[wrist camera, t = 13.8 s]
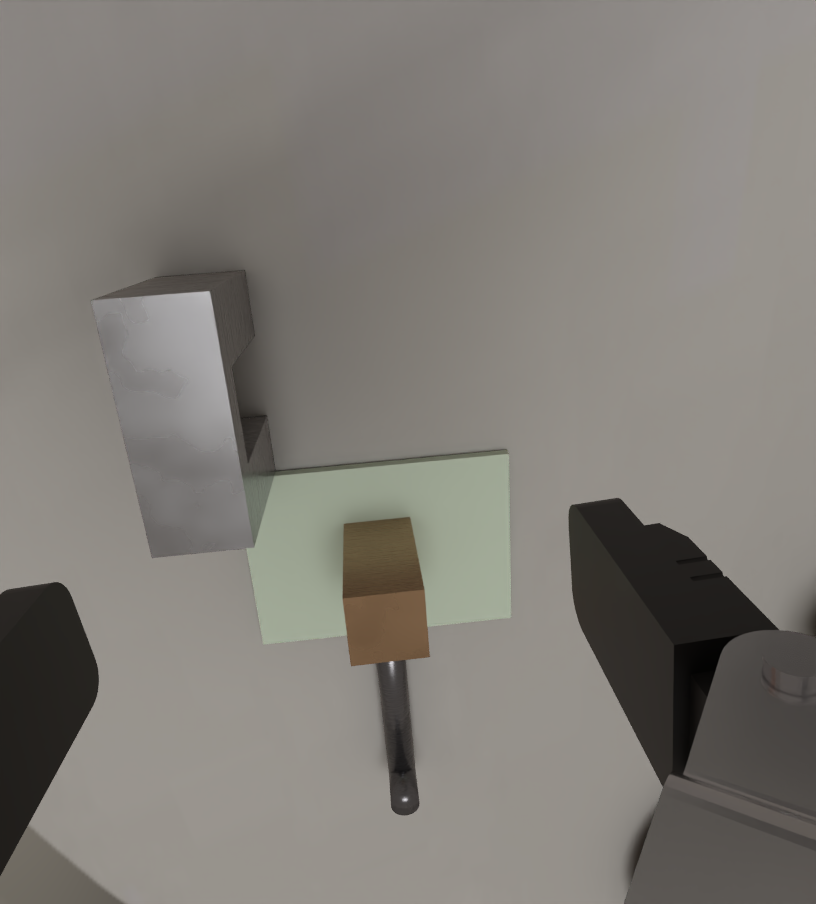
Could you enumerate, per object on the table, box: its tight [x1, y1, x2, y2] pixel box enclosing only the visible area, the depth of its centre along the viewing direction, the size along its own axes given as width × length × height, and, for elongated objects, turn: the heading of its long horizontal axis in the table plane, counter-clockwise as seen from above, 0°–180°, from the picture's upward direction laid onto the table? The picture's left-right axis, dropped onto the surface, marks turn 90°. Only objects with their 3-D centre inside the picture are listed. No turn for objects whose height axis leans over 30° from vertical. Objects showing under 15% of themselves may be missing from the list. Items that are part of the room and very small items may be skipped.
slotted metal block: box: [91, 270, 275, 558], centre depth 28 cm, size 4×10×8 cm, turn 4°
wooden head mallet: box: [342, 517, 430, 815], centre depth 34 cm, size 17×4×7 cm, turn 4°
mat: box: [246, 450, 511, 645], centre depth 35 cm, size 14×10×1 cm
